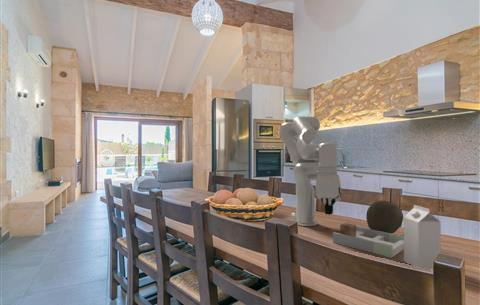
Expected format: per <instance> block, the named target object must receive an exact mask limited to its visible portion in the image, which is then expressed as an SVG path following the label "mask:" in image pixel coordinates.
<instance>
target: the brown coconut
mask: <svg viewBox="0 0 480 305" xmlns="http://www.w3.org/2000/svg"><path fill="white" fill-rule="evenodd" d="M365 216H366V218H365V219H366V223H367V226H368V229H371V230H376V231H381V232H386V233H391V234H395V233H396V232H397V231H398V230H399V229H400V227H401V226H402V223H404V214H403V211H402V209H401V208H400V207H399V206H398V205H396V203H393V201H388V200H387V201H386V200H377V201H374V202H373V203H372V204H371V205H369V206H368V208H367V210H366V215H365Z"/></svg>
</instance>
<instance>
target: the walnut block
mask: <svg viewBox="0 0 480 305" xmlns="http://www.w3.org/2000/svg"><path fill="white" fill-rule="evenodd" d="M339 226H340V227H339V228H340V229H339V230H340V231H339V232H340V234H344V235H348V236H353V237H355V236H356V227H357V225H356V224H353V223H352V224H351V223H347V222H345V223H342V224H340V225H339Z"/></svg>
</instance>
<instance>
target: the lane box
mask: <svg viewBox="0 0 480 305" xmlns="http://www.w3.org/2000/svg"><path fill="white" fill-rule="evenodd" d="M332 243H334V244H338V245H341V246H345V247H348V248H352V249H356V250H360V251H363V250H364V252H367V251H368V252H367V253H371V252H372V254H375V253H376V255H379V254H380V255H379V256H382V255H383V256H384V257H387V258H392V259H393V257H395V256H396V255H397V254H399V253H400V252H402V251H404V235H402V234H401V235H400V234H395V233H392V234H391V233H386V232H381V231H376V230H371V229H370V228H366V227H362V226H361V227H360V226H356V236H355V237H353V236H348V235H344V234H340V233H339V232H335V231H333V232H332ZM383 256H382V257H383Z"/></svg>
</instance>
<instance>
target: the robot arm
mask: <svg viewBox="0 0 480 305" xmlns="http://www.w3.org/2000/svg"><path fill="white" fill-rule="evenodd" d="M320 128H321V122H320V120H319V118H317V117H315V116H297V117H295V118H294V119H293V120H292V121H287V122H284V123H282V124H281V125H280V128H279V134H280V138H281V141H282V143H283V144H284V146H285V147H286V148H287V152H288V154H289V156H290V158H291V161H292V163H293V164H294V165H295V166H294V168H293V175H294V180H295V212H291V214H290V217H291V218H293V220H292V222H293V221H297V222H298V225H297V226H300V227H301V226H302V227H315V226H318V225H319V221H318V220H316V211H315V210H316V199H315V198H317V200H319V201H321V202H322V205H323V206H324V212H325V213H324V214H325V215H329V216H330V215H333V213H334V205H335V204H336V202H341V201H342V185H341V178H340V174H338V153H337V152H338V151H337V148H338V147H337V144H336V143H334V142H322V143H313V141H314V140H315V139H316V137H317V132H318V131H319V130H320ZM296 137H297V138H296ZM313 181H315V187H314V186H313V184H312V182H313Z"/></svg>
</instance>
